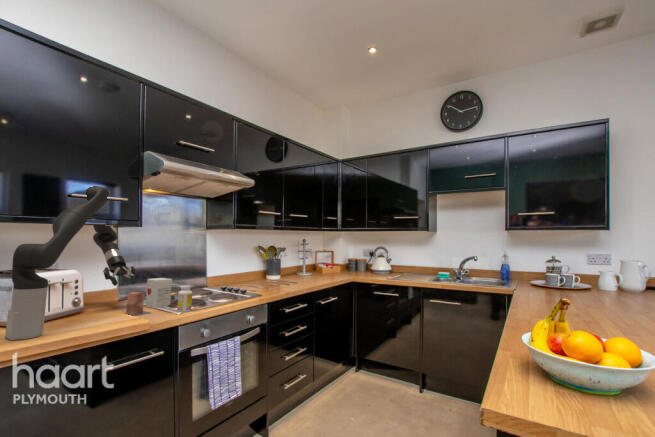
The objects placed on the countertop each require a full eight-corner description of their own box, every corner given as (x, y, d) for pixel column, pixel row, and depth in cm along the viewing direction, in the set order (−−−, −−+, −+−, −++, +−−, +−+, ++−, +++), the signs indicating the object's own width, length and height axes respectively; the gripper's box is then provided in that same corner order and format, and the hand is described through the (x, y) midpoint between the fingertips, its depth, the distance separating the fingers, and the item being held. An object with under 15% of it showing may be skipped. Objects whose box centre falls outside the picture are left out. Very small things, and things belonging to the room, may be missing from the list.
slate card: (127, 318, 143) (127, 317, 143) (115, 315, 148) (115, 314, 148) (152, 313, 154) (152, 313, 154) (140, 311, 158) (141, 310, 159)
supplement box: (144, 306, 169) (146, 278, 171) (160, 304, 177) (162, 277, 179) (155, 308, 165) (157, 280, 167) (170, 306, 173) (172, 278, 174)
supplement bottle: (191, 309, 166) (193, 284, 167) (190, 312, 160) (192, 286, 161) (177, 310, 164) (179, 285, 165) (176, 312, 158) (178, 286, 159)
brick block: (132, 315, 147) (133, 293, 148) (126, 313, 150) (127, 292, 151) (142, 313, 152) (144, 292, 153) (136, 312, 154) (138, 291, 155)
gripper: (102, 255, 156) (113, 280, 150) (132, 254, 169) (143, 277, 162) (96, 265, 158) (106, 290, 152) (126, 264, 171) (136, 287, 164)
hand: (125, 283), depth 157 cm, fingers open, 8 cm apart
